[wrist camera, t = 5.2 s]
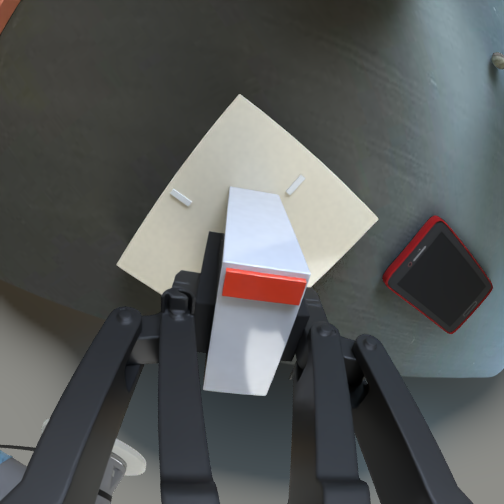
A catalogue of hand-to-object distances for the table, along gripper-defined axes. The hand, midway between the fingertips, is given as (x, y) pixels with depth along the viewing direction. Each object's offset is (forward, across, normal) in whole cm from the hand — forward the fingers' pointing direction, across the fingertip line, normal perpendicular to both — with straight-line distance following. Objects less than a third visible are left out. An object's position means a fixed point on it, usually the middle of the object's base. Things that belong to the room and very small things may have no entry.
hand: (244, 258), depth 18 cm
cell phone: (+5, +20, -2) cm, 21 cm away
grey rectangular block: (+2, 0, 0) cm, 2 cm away
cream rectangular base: (+5, 0, 0) cm, 5 cm away
